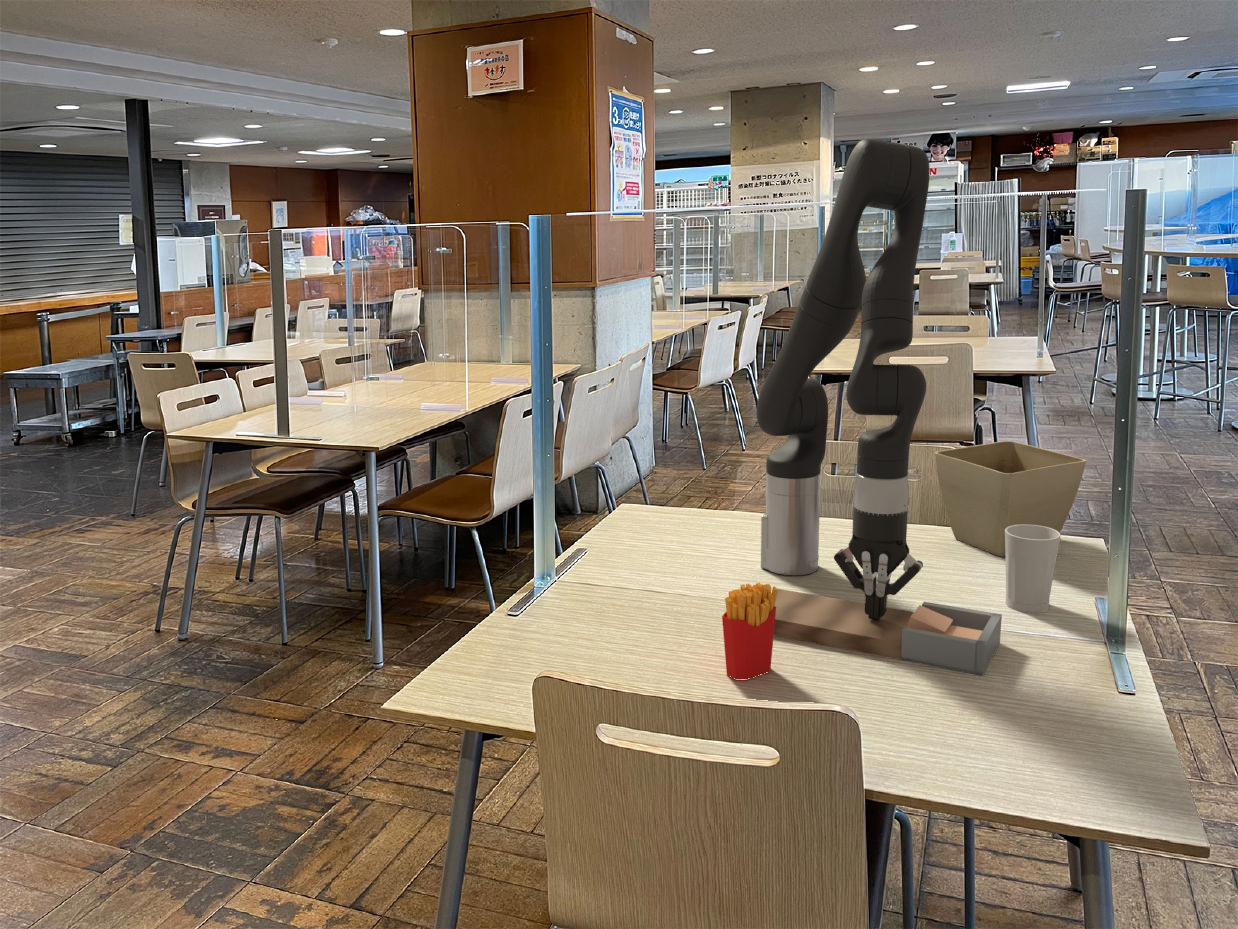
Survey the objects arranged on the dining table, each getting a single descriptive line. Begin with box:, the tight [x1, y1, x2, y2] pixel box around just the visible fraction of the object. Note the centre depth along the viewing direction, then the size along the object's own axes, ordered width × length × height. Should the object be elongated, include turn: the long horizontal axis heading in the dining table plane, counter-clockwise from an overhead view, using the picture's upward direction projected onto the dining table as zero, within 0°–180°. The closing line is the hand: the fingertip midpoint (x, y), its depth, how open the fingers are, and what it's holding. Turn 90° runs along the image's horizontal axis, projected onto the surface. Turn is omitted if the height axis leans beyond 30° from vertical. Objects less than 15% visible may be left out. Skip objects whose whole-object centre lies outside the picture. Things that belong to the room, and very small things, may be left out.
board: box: [774, 588, 915, 661], centre depth 152 cm, size 23×12×2 cm, turn 60°
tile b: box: [945, 625, 982, 640], centre depth 142 cm, size 5×5×2 cm
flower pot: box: [934, 440, 1087, 557], centre depth 187 cm, size 19×19×17 cm
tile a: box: [907, 604, 953, 634], centre depth 145 cm, size 5×5×2 cm
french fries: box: [721, 582, 779, 679], centre depth 137 cm, size 8×4×12 cm, turn 124°
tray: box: [901, 601, 1003, 676], centre depth 143 cm, size 11×12×4 cm
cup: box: [1005, 525, 1061, 614], centre depth 158 cm, size 8×8×12 cm
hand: (875, 617), depth 149 cm, fingers closed
